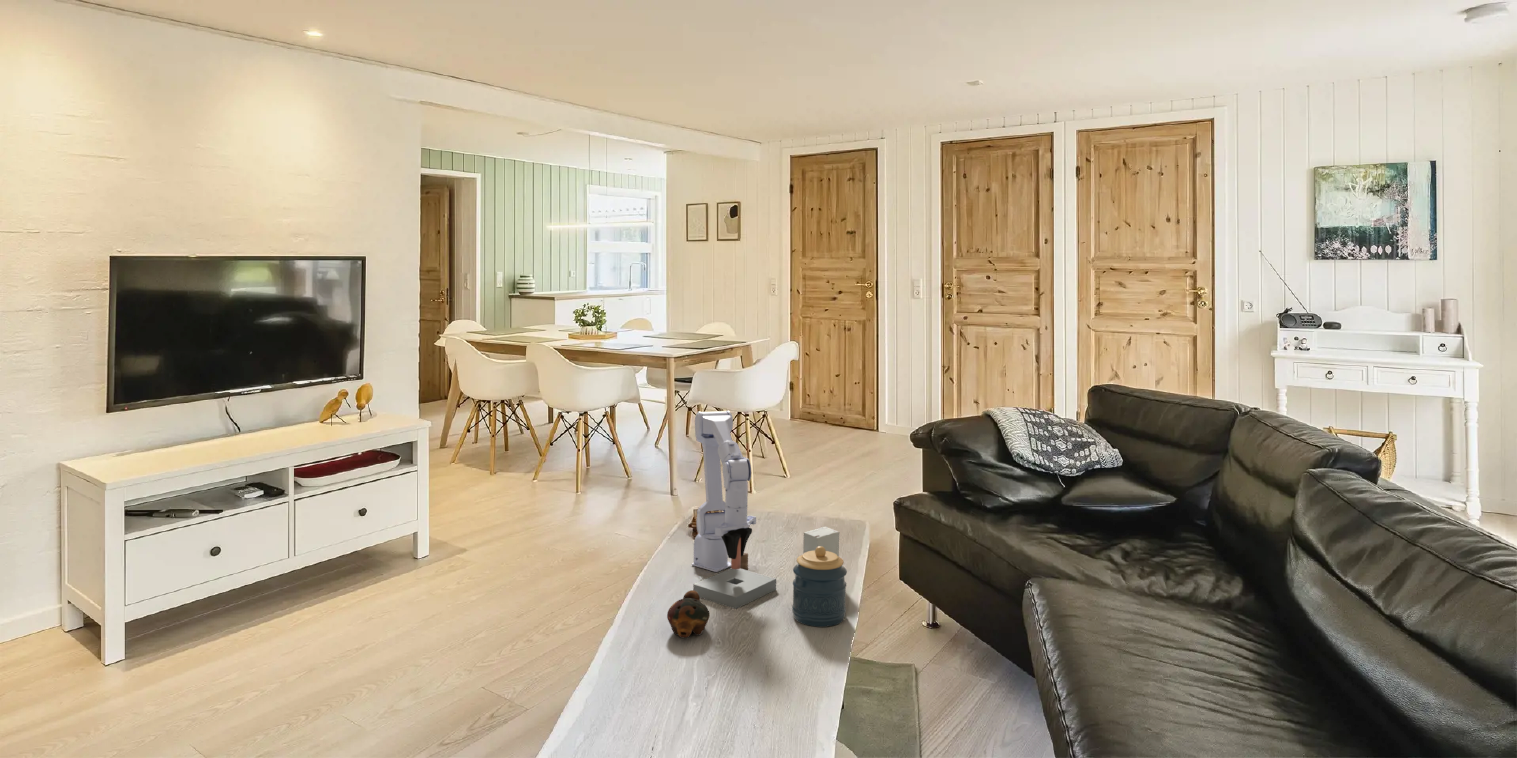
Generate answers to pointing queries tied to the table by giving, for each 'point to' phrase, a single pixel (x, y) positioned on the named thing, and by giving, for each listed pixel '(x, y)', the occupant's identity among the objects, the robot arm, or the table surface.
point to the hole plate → (735, 587)
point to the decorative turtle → (688, 615)
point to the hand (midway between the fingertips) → (735, 556)
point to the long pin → (737, 557)
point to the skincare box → (821, 540)
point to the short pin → (744, 561)
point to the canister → (819, 588)
